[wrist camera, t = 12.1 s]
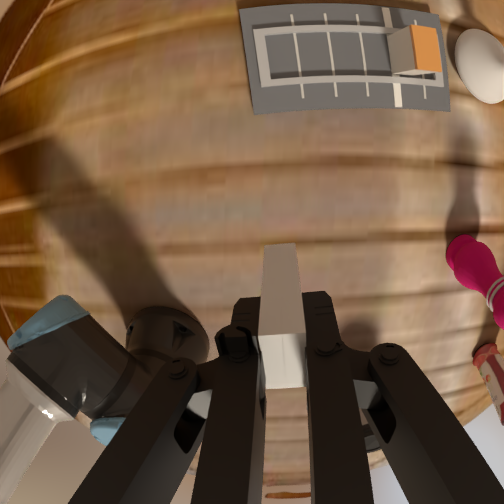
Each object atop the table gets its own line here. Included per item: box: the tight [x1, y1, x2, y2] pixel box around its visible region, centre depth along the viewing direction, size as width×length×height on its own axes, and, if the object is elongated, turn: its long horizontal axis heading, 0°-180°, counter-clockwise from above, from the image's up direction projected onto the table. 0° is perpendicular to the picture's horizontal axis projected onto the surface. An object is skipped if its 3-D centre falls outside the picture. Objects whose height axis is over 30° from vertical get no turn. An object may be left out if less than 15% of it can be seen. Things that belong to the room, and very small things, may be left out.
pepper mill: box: [446, 234, 504, 329], centre depth 34 cm, size 7×7×20 cm
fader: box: [387, 24, 442, 75], centre depth 26 cm, size 3×5×8 cm, turn 7°
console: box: [239, 3, 450, 115], centre depth 31 cm, size 26×14×3 cm, turn 97°
